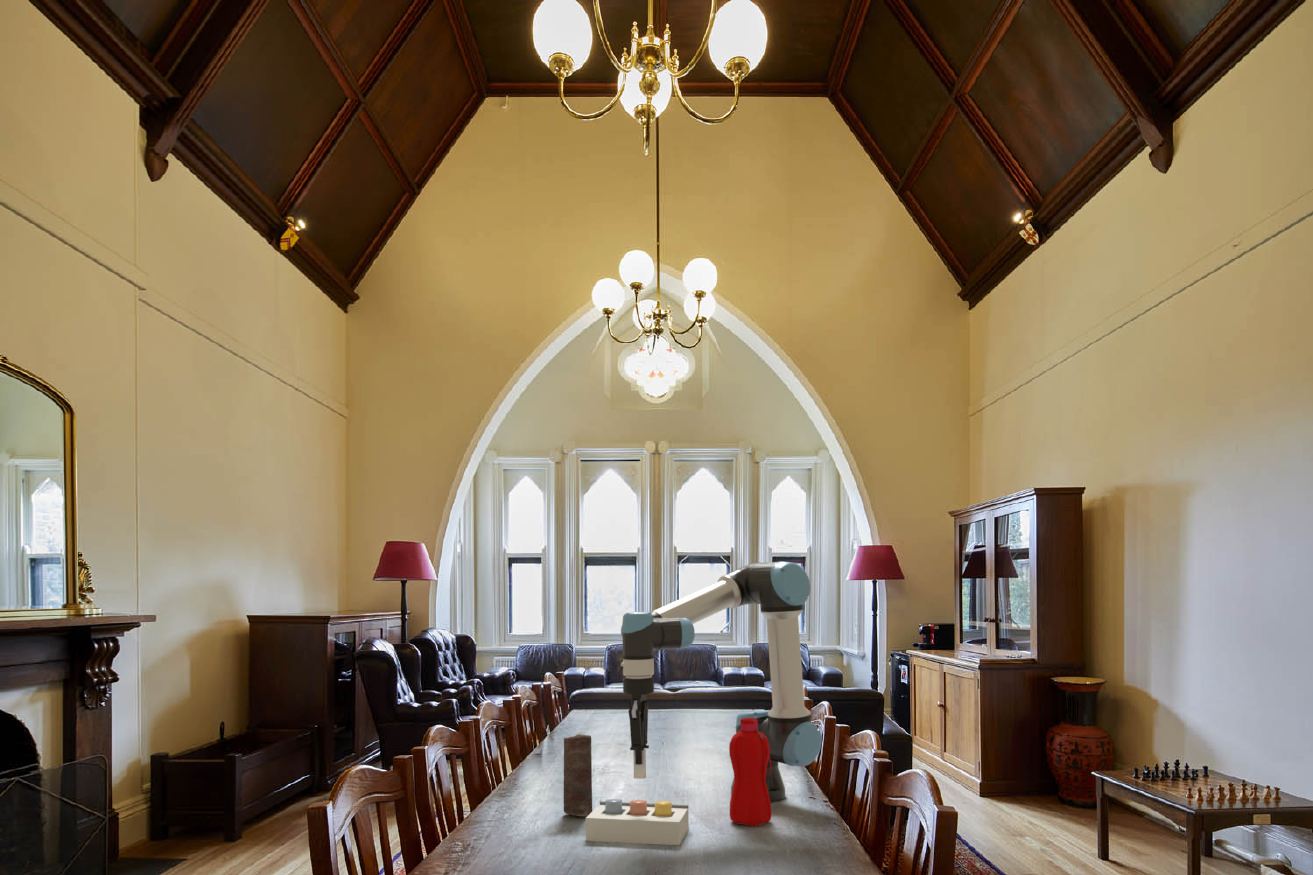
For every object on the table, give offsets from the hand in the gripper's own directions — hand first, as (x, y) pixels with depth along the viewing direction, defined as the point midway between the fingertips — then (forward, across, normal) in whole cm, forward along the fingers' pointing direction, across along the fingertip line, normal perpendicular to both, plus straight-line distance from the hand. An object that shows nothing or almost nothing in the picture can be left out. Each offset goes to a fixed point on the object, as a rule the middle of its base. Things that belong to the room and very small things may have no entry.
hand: (639, 777), depth 219 cm
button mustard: (+10, +1, +6) cm, 11 cm away
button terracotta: (+9, +1, 0) cm, 9 cm away
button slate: (+9, +1, -6) cm, 11 cm away
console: (+13, 0, 0) cm, 13 cm away
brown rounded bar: (+13, -14, -20) cm, 28 cm away
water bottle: (+14, -16, +26) cm, 33 cm away
